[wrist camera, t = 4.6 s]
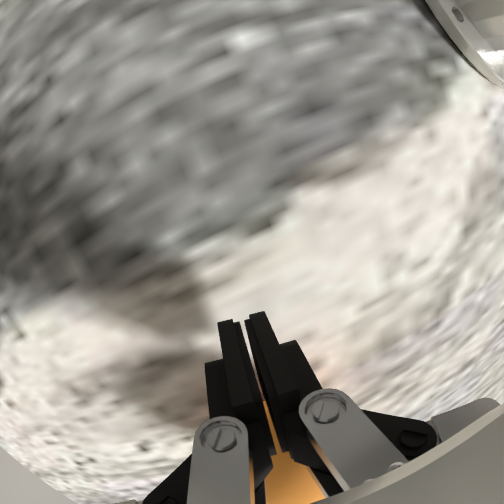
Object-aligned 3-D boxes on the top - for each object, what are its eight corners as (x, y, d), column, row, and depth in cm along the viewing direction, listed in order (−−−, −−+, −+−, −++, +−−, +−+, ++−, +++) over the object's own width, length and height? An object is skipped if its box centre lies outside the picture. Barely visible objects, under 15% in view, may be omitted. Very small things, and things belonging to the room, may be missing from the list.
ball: (206, 387, 13) (218, 499, 8) (328, 353, 14) (385, 448, 8) (237, 449, 15) (254, 533, 10) (332, 421, 16) (370, 497, 10)
